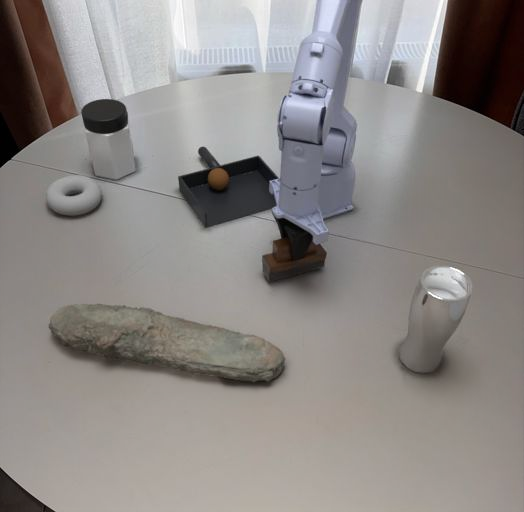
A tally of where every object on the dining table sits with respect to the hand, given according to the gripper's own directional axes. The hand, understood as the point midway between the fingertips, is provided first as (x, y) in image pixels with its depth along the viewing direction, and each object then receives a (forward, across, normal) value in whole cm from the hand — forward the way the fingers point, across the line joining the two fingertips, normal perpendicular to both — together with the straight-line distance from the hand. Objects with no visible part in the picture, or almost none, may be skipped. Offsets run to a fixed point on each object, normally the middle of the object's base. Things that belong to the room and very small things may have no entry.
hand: (293, 252), depth 93 cm
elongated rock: (+5, +6, -25) cm, 26 cm away
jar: (+4, -42, -17) cm, 45 cm away
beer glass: (+4, +24, +8) cm, 26 cm away
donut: (+4, -34, -27) cm, 44 cm away
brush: (+3, 0, 0) cm, 3 cm away
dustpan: (+4, -28, 0) cm, 28 cm away
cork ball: (+2, -27, -1) cm, 27 cm away
